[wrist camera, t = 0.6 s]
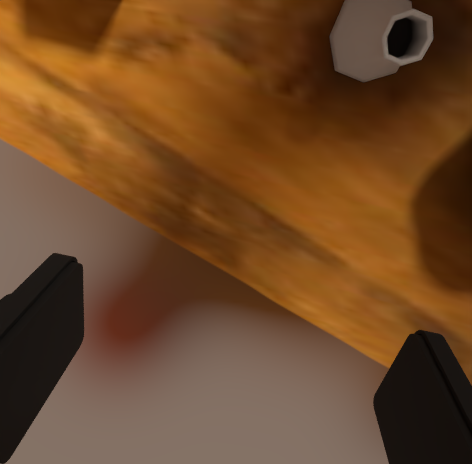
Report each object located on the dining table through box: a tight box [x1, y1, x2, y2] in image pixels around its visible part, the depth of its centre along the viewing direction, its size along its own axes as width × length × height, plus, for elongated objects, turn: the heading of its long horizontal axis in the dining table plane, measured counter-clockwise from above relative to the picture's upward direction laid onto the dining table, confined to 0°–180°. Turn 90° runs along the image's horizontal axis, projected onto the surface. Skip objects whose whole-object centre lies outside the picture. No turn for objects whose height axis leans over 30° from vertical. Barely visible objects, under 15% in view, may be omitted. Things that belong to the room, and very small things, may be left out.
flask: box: [329, 0, 433, 83], centre depth 27 cm, size 7×7×10 cm
